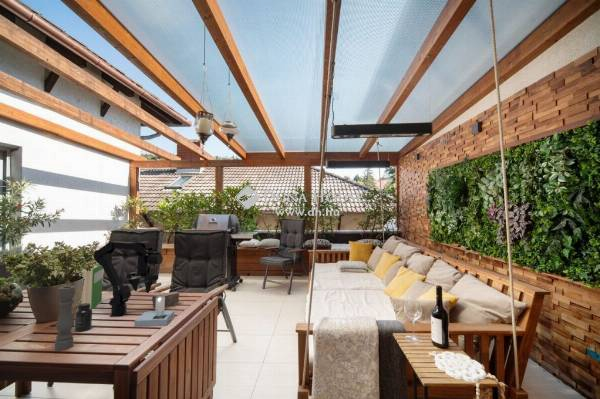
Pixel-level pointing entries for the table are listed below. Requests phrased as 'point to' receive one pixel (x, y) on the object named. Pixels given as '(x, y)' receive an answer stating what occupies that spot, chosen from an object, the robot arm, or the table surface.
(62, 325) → the candle holder
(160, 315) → the polished metal rod
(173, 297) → the stone block
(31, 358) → the table surface
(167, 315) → the jig plate
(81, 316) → the supplement bottle
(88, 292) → the hardback book
